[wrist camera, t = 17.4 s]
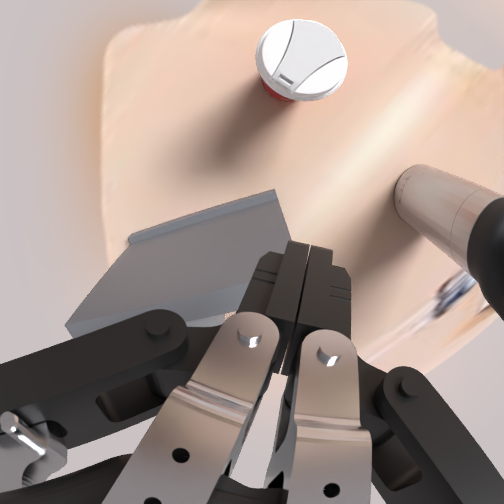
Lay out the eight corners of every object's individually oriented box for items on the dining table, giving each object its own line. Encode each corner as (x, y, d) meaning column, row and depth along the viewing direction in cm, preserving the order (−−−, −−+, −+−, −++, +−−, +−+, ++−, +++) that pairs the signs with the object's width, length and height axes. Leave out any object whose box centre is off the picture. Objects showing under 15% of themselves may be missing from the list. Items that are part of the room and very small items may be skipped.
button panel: (286, 230, 40) (314, 324, 21) (147, 269, 42) (92, 364, 24) (274, 188, 37) (297, 255, 19) (131, 233, 40) (58, 316, 21)
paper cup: (293, 121, 34) (318, 118, 21) (241, 87, 32) (235, 64, 19) (328, 75, 31) (369, 51, 18) (277, 41, 29) (291, -2, 16)
